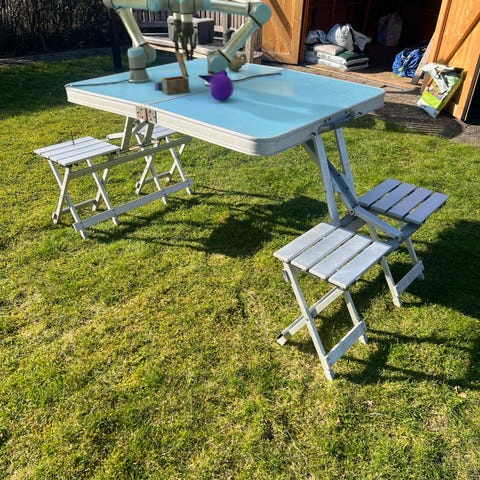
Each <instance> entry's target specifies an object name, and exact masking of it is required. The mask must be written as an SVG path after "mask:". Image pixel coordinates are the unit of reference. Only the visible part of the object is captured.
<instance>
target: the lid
mask: <svg viewBox="0 0 480 480" xmlns="http://www.w3.org/2000/svg"><path fill="white" fill-rule="evenodd" d="M188 51H189V54H186V55H185V52H180V51H179V52H178V51H175V50H174V53H175V56H176V59H177V62H178V66H179V70H180V72H181V76H184V77H186V78H188V79H189V78H190V76H189V73H188V70H187V65H186V63H185V60H184V58H185V57H187V55H189V56H190V55H192V52H190V50H188ZM192 56H193V55H192Z"/></svg>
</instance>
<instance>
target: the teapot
mask: <svg viewBox="0 0 480 480" xmlns="http://www.w3.org/2000/svg"><path fill="white" fill-rule="evenodd" d="M242 58H243V60H241V59H242ZM247 61H248V59H247V54H246V53H244V52H243V53H240V54H239V55H238V54H237V53H235V54H234V56H233V57H232V61H231V63H230V64H229V65H228V66H227V69H228V71H229V72H232V73H233V72H238V71H240V70H241V69H242V67H243V66H245V65H246V64H247Z"/></svg>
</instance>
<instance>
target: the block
mask: <svg viewBox="0 0 480 480" xmlns="http://www.w3.org/2000/svg"><path fill="white" fill-rule="evenodd" d="M154 90H156V91H163V88H162V80H161V81H155V82H154Z"/></svg>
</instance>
